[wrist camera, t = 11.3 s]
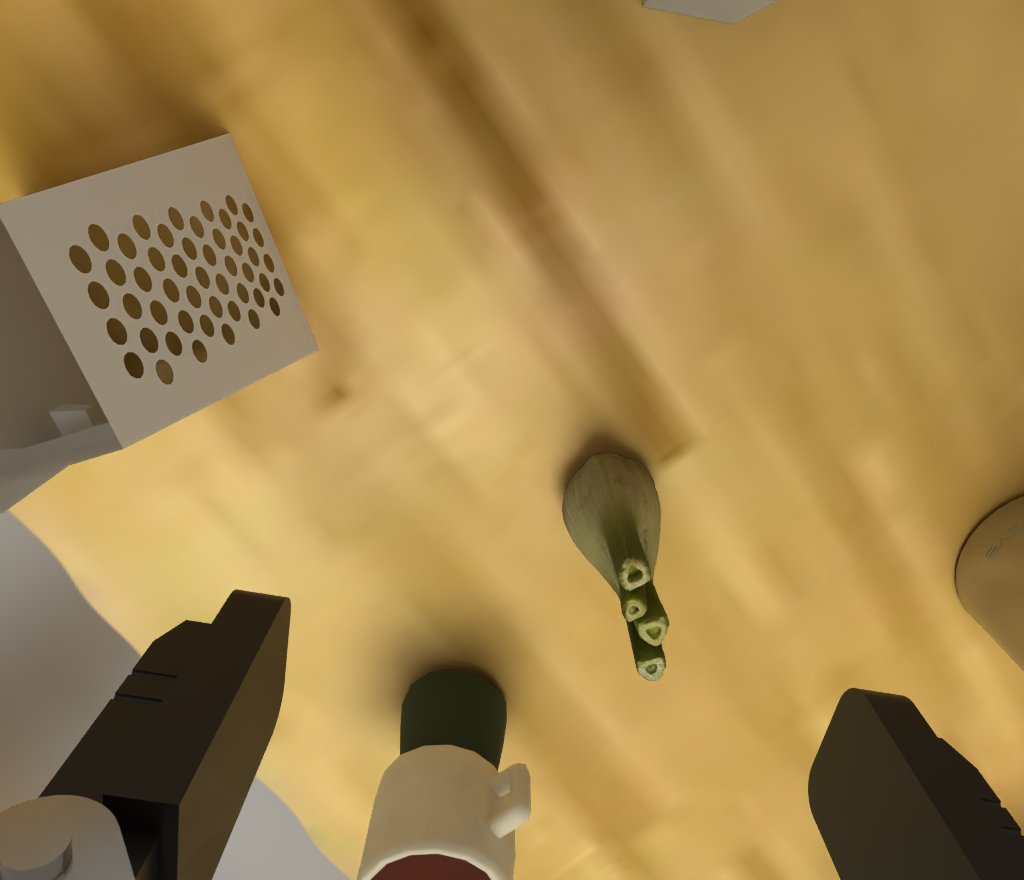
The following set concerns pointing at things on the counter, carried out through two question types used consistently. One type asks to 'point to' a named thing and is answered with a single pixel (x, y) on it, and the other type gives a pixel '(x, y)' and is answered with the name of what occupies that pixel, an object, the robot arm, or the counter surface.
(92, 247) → the grater
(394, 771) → the character mug
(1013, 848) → the robot arm
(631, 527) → the fennel bulb
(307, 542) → the counter surface
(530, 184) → the counter surface
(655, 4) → the plain gray rectangular block
